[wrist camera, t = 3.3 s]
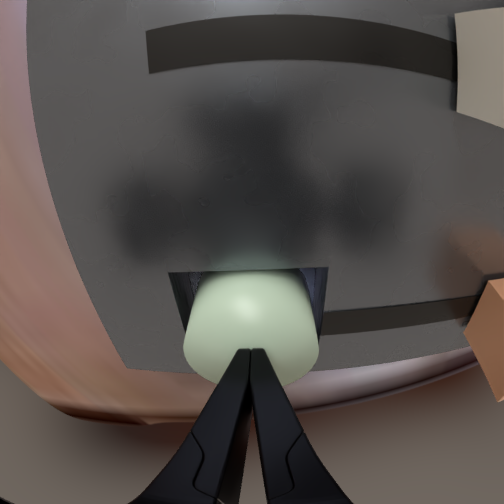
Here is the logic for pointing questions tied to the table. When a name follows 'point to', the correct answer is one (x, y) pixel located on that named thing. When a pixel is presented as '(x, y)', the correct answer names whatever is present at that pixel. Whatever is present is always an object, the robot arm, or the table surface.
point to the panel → (269, 164)
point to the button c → (252, 322)
